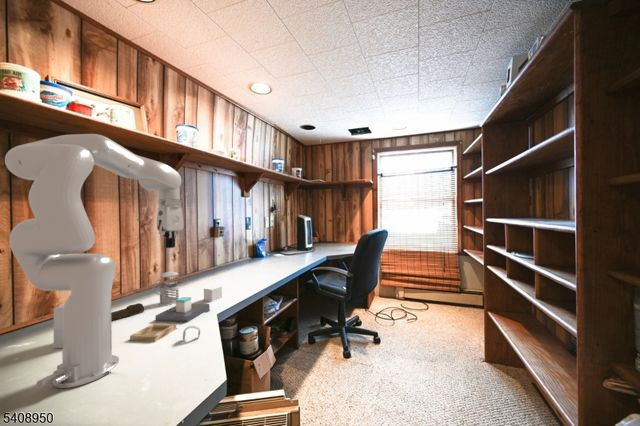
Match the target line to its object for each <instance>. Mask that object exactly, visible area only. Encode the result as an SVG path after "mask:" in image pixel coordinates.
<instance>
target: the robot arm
mask: <svg viewBox="0 0 640 426" xmlns="http://www.w3.org/2000/svg"><path fill="white" fill-rule="evenodd" d="M4 164H5V166H6V168H7V170H9V172H10V173H12V174H13V175H15V176H16V177H17V178H21V179H23V180H28V181H33V182H32V184H31V187H30V189H29V193H28V203H29V207H30V209H31V212H32V214H33V217H34V218H29V219H25V220H23V221H21V222H19V223H18V224H16V225H15V226H14V227H13V228H12V230H11V232H10V234H9V237H8V238H9V247H10V249H11V252H12V254H13V256H14V257H15V258H16V259H15V260H17V262H18V264H19V265H20V268H21V269H22V271H23V272H24V274H25V277H26V278H27V280H28V281H29V283H31V285H32V286H33V287H35V288H36V289H38V290H41V291H45V292H46V291H47V292H57V291H58V292H59V291H60V292H61V291H62V292H63V291H67V292H68V291H70V293H69V296H68V298H67V299H66V300H65V302H64V304H63V305H64V306H63V310H62V348H61V350H62V351H61V353H62V354H61V357H62V358H61V359H62V361H61V363H60V364H57V366H56V370H54V371H53V373H51V374H49V375H46V376H45V377H43V378H41V379H38V380H37V381H36V388H37V389H39V390H41V389H43V388H45V387H47V386H49V385H50V384H53V386H54V387H55V388H58V389H68V388H69V389H70V388H75V387H80V386H82V385H85V384H89V383H92V382H94V381H96V380H98V379H101V378H102V377H103V378H104V377H105V376H106V375H108V374H109V373H110V374H111V370H113V369H114V368H115V367H116V366H117V365H118V364H119V363H120V358H119V356H117V355H114V354H113V352H112V351H113V343H112V342H113V341H112V339H113V338H112V337H113V336H112V333H113V331H112V328H113V327H112V321H111V312H112V290H113V284H114V280H115V276H116V275H115V274H116V267H117V266H116V263H115V261H114V260H113V259H112V258H111V257H110V256H109V255H106V254H101V253H83V252H86V251H89V250H91V248H93V246H94V245H95V242H96V235H95V231H94V228H93V226H92V223H91V222H90V219H89V217H88V215H87V212H86V210H85V207H84V204H83V201H82V198H81V191H82V187H83V185H84V182H85V181H86V179H87V178H88V177H89V176H90V174H91V172H92V171H93V169H94V166H97V167H100V168H101V169H104V170H106V171H109V172H111V173H113V174H115V175H117V176H120V177H122V178H124V179H125V178H126V179H131V180H138V184H139V186H141V187H142V188H143V189H145V190H147V191H158V201H157V204H158V208H157V213H156V214H157V215H156V230H157V231H158V234H159V235H162V236H163V238H164V240H165V249H172V248H176V238H177V235H178V234H180V233H181V231H183V229H184V226H185V225H184V224H185V223H184V216H183V210H182V207H181V194H180V193H181V191H180V187H181V185H182V177H181V175H180V173H179V172H178V171H177V170H176V169H174V168H173V167H172V166H169V165H168V164H166V163H164V162H161V161H157V160H155V159H151V158H147V157H144V156H140V155H138V154H135V153H133V152H132V151H131V150H129V149H127V148H125V147H124V146H123V145H120V144H118V143H117V142H115V141H114V140H112V139H110V138H109V137H107V136H104V135H102V134H98V133H82V134H81V133H77V134H63V135H58V136H54V137H49V138H44V139H40V140H37V141H33V142H29V143H28V142H27V143H23V144H21V145H16V146H14V147H13V148H11V149H9V150H8V152H6V154H5V156H4ZM141 187H140V188H141Z"/></svg>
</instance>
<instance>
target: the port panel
mask: <svg viewBox="0 0 640 426" xmlns="http://www.w3.org/2000/svg"><path fill="white" fill-rule="evenodd" d="M210 308H211V307H210V303H192V302H191V310H189V311H187V312H176V305H175V306H174V305H173V307H171V308H169V309H166V310H164V311H162V312H160V313H158V314H156V315H155V316H154V317H155V318H154V319H155V322H166V323H189V322H191V321H192V320H195V319H196V318H197V317H200V315H202V314H205V313H208V312H210Z"/></svg>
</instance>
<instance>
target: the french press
mask: <svg viewBox="0 0 640 426" xmlns="http://www.w3.org/2000/svg"><path fill="white" fill-rule="evenodd" d="M167 255H168V256H171V255H172V252H169V251H168V252H166V256H167ZM177 276H179V273H178V272H176V271H170V270H168V271H166V272H163V273H162V274H160V275H159V277H160V278H168V281H165V282H162V280H161V279H160V278H159V279H156V281H155V282H154V283H153V285H152V290H153V292H154V294H156V295H158V296H159V303H158V304H157V305H159V307H168V305H169V306H173V305H172V304H174V305H176V300H177V299H180V298H179V297H180V296H179V291H180V290H179V284H178V281H177V280H173V281H171V280H170V278H172V277H177ZM158 282H159V283H160V284H161V286H160V287H159V288H160V290H159V291H160V293H157V292H156V290H155V289H156V288H155V287H156V284H157V283H158Z"/></svg>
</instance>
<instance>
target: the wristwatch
mask: <svg viewBox="0 0 640 426" xmlns="http://www.w3.org/2000/svg"><path fill="white" fill-rule="evenodd" d="M188 329H195V330H196V329H197V331H198V332H197V333H198V336H197V339H200V335H201V328H200V327H199V326H196V325H189V326H187V327H186V328H185V329H184V330H183V333H182V340H183V341H184V342H187V338H186V334H187V333H186V331H187V330H188Z"/></svg>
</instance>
